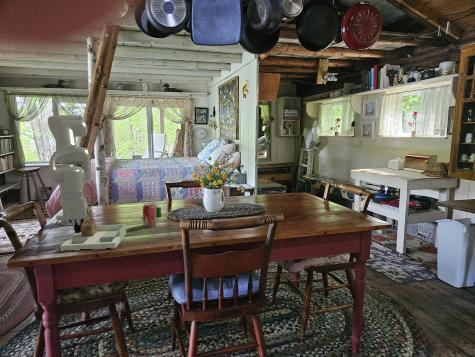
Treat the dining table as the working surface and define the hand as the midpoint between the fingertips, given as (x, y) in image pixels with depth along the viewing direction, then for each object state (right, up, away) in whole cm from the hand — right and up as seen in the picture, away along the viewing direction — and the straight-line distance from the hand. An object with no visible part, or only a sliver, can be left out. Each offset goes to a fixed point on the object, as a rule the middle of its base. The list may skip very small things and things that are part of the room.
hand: (78, 232), depth 145 cm
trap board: (+9, -4, -2) cm, 10 cm away
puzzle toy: (+26, +3, +39) cm, 47 cm away
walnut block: (+5, -1, +1) cm, 5 cm away
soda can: (+28, 0, +22) cm, 36 cm away
